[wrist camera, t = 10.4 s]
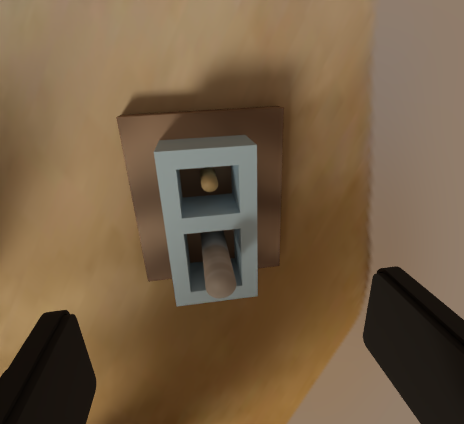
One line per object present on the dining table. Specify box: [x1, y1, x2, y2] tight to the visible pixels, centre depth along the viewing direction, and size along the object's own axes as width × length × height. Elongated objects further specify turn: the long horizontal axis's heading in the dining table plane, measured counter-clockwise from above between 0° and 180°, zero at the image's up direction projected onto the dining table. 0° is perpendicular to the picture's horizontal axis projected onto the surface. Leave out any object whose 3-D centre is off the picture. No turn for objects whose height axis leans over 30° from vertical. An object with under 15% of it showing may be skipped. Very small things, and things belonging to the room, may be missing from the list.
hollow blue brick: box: [154, 135, 258, 306], centre depth 22 cm, size 12×6×4 cm, turn 2°
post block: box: [116, 106, 284, 298], centre depth 22 cm, size 14×12×8 cm
